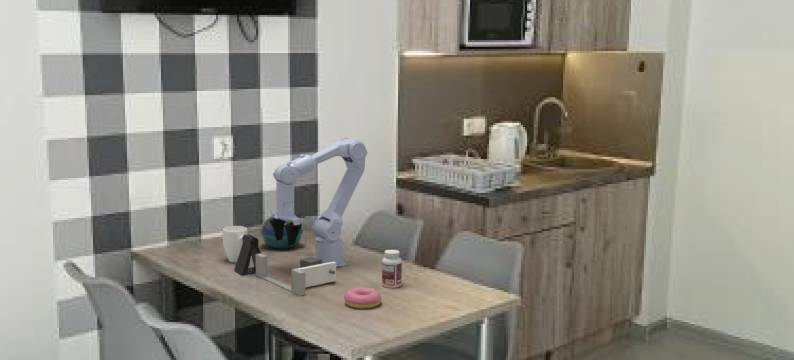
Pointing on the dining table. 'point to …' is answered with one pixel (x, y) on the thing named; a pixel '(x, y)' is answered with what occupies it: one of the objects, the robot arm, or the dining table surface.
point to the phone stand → (247, 255)
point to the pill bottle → (391, 269)
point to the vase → (270, 238)
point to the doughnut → (362, 298)
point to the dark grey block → (310, 262)
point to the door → (319, 273)
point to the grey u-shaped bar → (296, 281)
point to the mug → (233, 241)
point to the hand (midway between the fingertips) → (285, 242)
